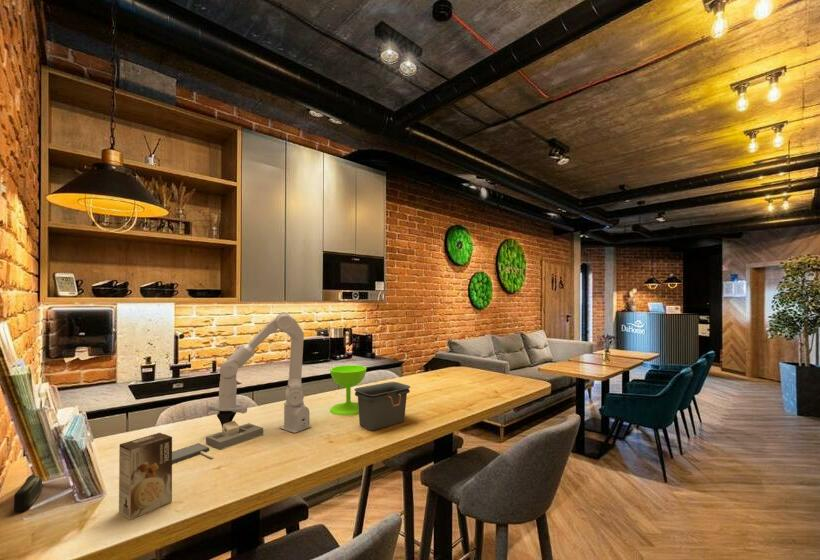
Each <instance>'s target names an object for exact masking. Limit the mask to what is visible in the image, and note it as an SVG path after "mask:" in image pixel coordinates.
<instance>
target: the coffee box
mask: <svg viewBox="0 0 820 560" xmlns="http://www.w3.org/2000/svg"><path fill="white" fill-rule="evenodd" d="M118 446H119V449H118V450H119V460H118V461H119V465H118V467H119V468H118V470H119V471H118V473H119V474H118V483H119V484H118V513H119V514H121V515H122V516H124V517H126V518H127V519H128V520H133V519H136V518H138V517H140V516H143V515H144V514H147V513H149V512H151V511H154V510H156V509H158V508H160V507H162V506H165V505H167V504H170V503H171V502H173V464H172V452H173V437H172V436H170V435H168V434H166V433H163V432H157V433H154V434H150V435H146V436H143V437H139V438H136V439H132V440H129V441H125V442H123V443H120V444H119V445H118Z"/></svg>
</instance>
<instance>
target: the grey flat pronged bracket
mask: <svg viewBox="0 0 820 560" xmlns="http://www.w3.org/2000/svg"><path fill="white" fill-rule="evenodd" d="M208 452H210V447H208V446H206V445H204V444H202V443H199V442H197V443H196V444H192V445H188V446H186V447H185V446H184V447H183V448H182V447H181V448H180V449H179V448H178V449H177V450H172V465H173V464H176V463H179V462H182V461H185V460H187V458H188V459H191V458H193V457H196V456H200V455H202V456H205V457H207V458H209V459H212V460H213V459H214V455H211V454H209V453H208ZM190 457H191V458H190Z"/></svg>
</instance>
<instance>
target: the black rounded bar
mask: <svg viewBox="0 0 820 560" xmlns="http://www.w3.org/2000/svg"><path fill="white" fill-rule="evenodd" d="M34 474H35V473H33V474H31V475H29V476H28V477H27V478H26V479H25V482H23V484H22V485H21V487H19V489H18V490H17V491H16V492H15V493H14V495H13V496H14V498H13V512H14V513H17V512H22V511H26V510H27V509H28V508H30V507H31V506H32V505H33V504H34V502H35V501H36V499H37V498H38V497H39V495H40V494H41V493H42V491H43V488H44V485H43V484H42V479H41V478H39V477H38V476H35V475H34Z"/></svg>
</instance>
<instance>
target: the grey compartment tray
mask: <svg viewBox="0 0 820 560" xmlns="http://www.w3.org/2000/svg"><path fill="white" fill-rule="evenodd" d="M239 426H240V428H239V433H238V434H235V435H232V436H229V435H227V434H224V433H222V431H221V432H216V433H213V434H211V435H207V436H205V444H206V445H208V446H211V447H214V448H215V449H218V450H223V449H226V448H229V447H232V446H235V445H238V444H241V443H243V442H245V441H249V440H251V439H254V438H257V437H260V436H263V435H264V427H261V426H259V425H256V424H252V423H250V422H249V423H246V424H245V423H244V424H242V425H239Z"/></svg>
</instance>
